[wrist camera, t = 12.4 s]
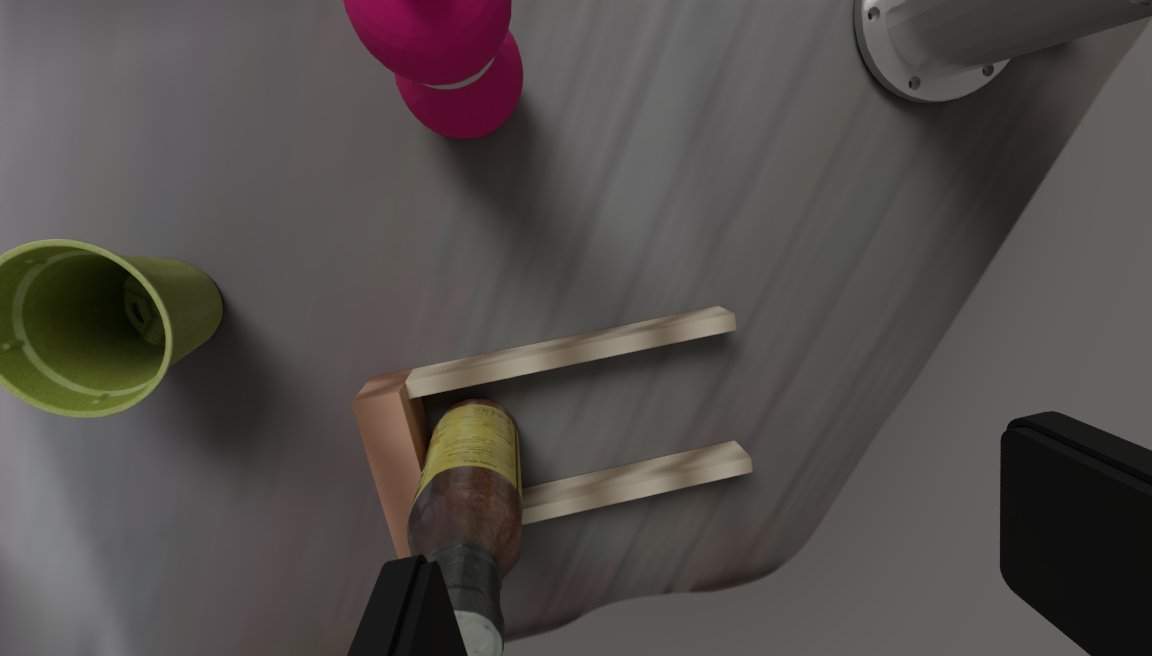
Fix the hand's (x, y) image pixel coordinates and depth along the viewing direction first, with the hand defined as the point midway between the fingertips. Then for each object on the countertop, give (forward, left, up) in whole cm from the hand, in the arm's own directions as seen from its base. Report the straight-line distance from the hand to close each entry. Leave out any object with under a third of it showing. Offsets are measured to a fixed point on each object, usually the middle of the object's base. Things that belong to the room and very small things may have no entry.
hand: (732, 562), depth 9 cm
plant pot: (+26, -4, -31) cm, 41 cm away
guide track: (+2, +10, -31) cm, 32 cm away
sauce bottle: (+8, +10, -31) cm, 34 cm away
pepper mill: (+4, -14, -31) cm, 34 cm away
